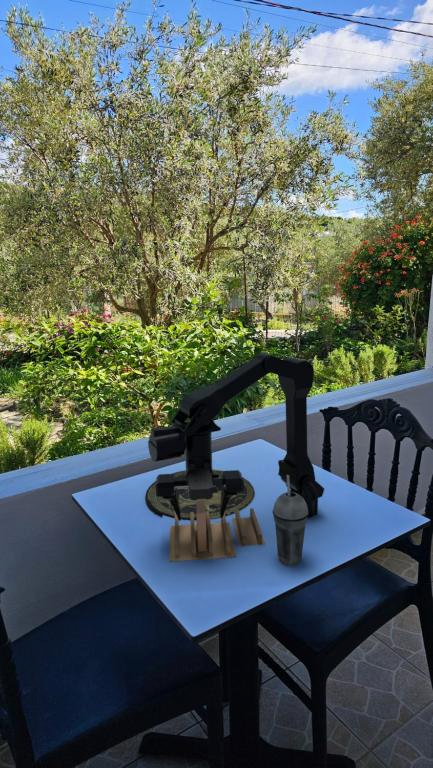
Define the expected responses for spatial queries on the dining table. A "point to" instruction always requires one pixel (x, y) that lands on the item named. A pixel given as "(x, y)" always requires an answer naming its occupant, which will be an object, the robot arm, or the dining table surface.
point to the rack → (187, 544)
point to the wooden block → (201, 525)
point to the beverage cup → (290, 526)
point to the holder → (247, 529)
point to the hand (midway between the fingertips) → (200, 518)
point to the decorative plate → (188, 505)
